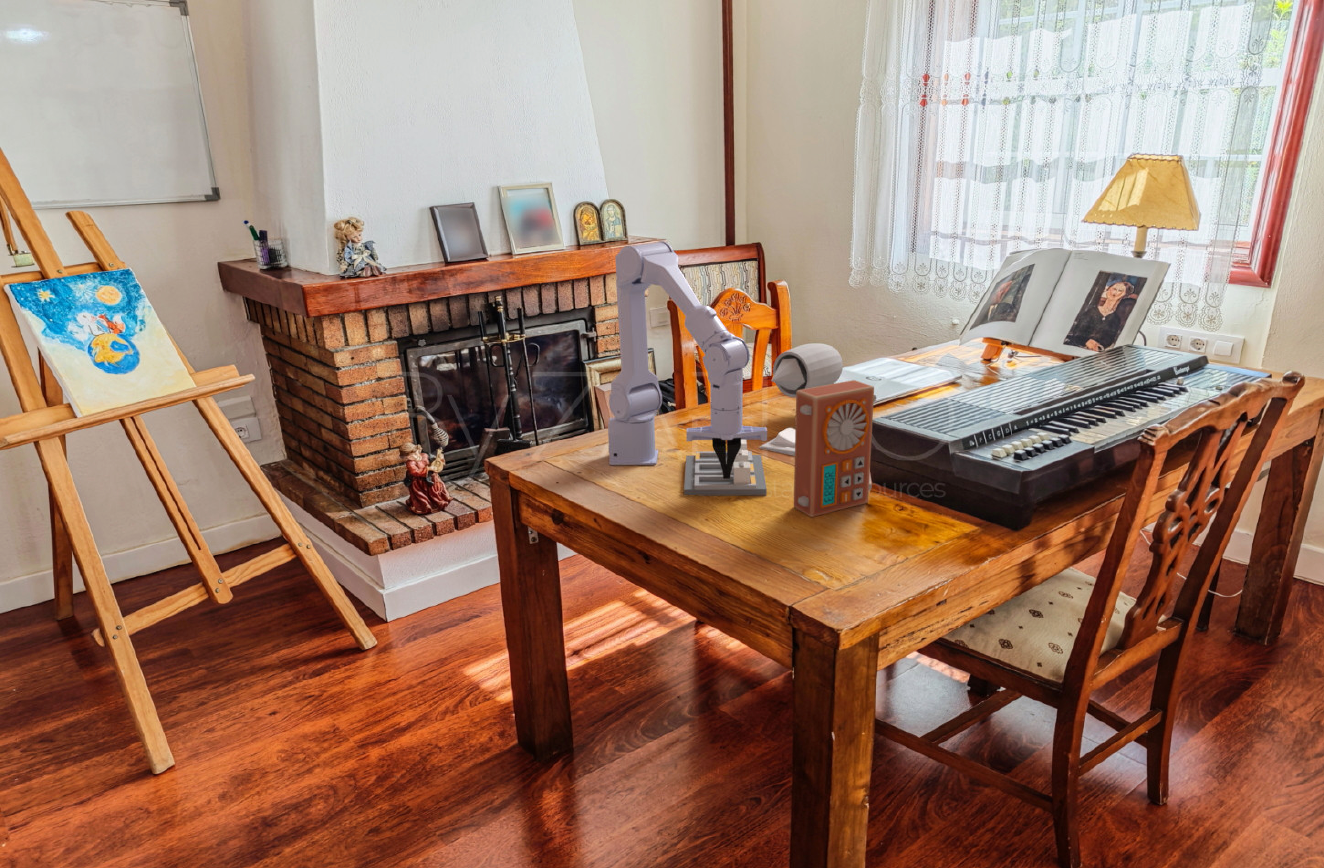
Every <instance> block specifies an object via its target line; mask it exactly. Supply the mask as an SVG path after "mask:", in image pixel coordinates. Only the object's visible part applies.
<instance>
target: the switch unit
mask: <svg viewBox="0 0 1324 868" xmlns="http://www.w3.org/2000/svg"><path fill="white" fill-rule="evenodd" d="M685 458H686V459H685V471H684V472H685V473H684V485H683V495H700V496H767V492H768V491H767V490H768V489H767V484H766V477H765V472H764V466H763V460H762V454H752V450H748V462H750V484H734V481H733V471H732V470H731V475H730V479H724V478H723V472H722V468H721V464H720V462H719V459H718V457H717V455H716V453H715V451H714V450H713V451H712V450H711V451H709V450H708V451H695V455H691V454H690V455H686V456H685ZM726 464H727V450H726Z"/></svg>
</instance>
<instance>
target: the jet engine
mask: <svg viewBox="0 0 1324 868" xmlns="http://www.w3.org/2000/svg"><path fill="white" fill-rule="evenodd" d="M843 363H844V362H843V359H842V356H841V354H840V353H839V351H838V350H837V348H836V349H835V347H834V346H831V345H829V344H825V343H819V342H818V343H814V342H813V343H805V344H802V345H801V344H800V345H798V346H795V347H793V348H790V349H788V350H786V351H784V352H782V353H780V354H779V355H778V356H777V357H776V358H775V361H774V363H773V368H772V375H773V377H772V379H771V380H770V381H771V382H773V383H775V385H776V387H777V388H778V390H779V391H780V392H781V394H783V395H784V396H786V397H788V398H794V399H796V391H797V390H802V389H808V388H813V387H819V386H824V385H830V384H835V383H837V381H838V380H839V379H840V377H841V375H842V373H843V368H844V364H843Z"/></svg>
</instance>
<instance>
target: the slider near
mask: <svg viewBox="0 0 1324 868" xmlns="http://www.w3.org/2000/svg"><path fill="white" fill-rule="evenodd" d="M733 481H734V484H750V462H743V461H740V462H734V463H733Z"/></svg>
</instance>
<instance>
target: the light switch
mask: <svg viewBox="0 0 1324 868" xmlns="http://www.w3.org/2000/svg"><path fill="white" fill-rule="evenodd" d="M758 449H760V450H764V449H766V450H765V451H769V450H770V452H774V453H780V454H785V455H788V456H793V457H795V428H793V427H787V428H785V429H784V430H782V431H779V432H778V434H777V435H776V437H775V438H773V439H771V440H770V441H767V442H765V443H764V444H761V445H760V446H759V447H758Z"/></svg>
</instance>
